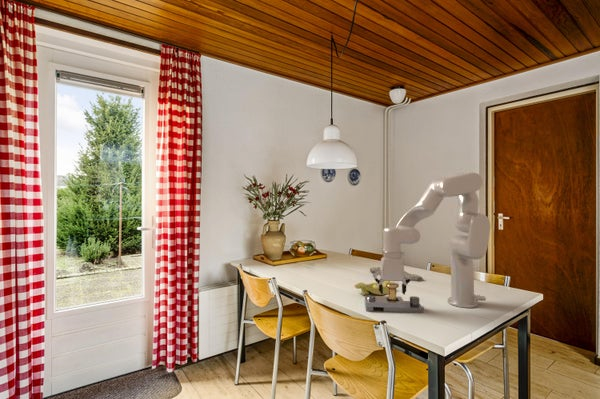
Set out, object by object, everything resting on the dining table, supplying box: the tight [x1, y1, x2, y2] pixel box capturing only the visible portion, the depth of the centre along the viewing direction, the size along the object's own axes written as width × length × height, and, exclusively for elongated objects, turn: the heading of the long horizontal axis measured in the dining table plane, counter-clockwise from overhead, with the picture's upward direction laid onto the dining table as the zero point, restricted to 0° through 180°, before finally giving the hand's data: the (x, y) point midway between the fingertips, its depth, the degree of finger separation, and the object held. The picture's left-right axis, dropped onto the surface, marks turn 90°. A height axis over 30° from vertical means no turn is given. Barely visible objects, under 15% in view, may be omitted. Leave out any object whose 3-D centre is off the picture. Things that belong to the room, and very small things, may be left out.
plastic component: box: [353, 281, 391, 296], centre depth 167 cm, size 20×7×10 cm
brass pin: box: [386, 281, 400, 301], centre depth 144 cm, size 6×6×11 cm
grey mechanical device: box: [364, 295, 424, 314], centre depth 144 cm, size 24×9×5 cm, turn 83°
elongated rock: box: [369, 266, 423, 282], centre depth 201 cm, size 35×5×10 cm
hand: (392, 293), depth 144 cm, fingers open, 9 cm apart
